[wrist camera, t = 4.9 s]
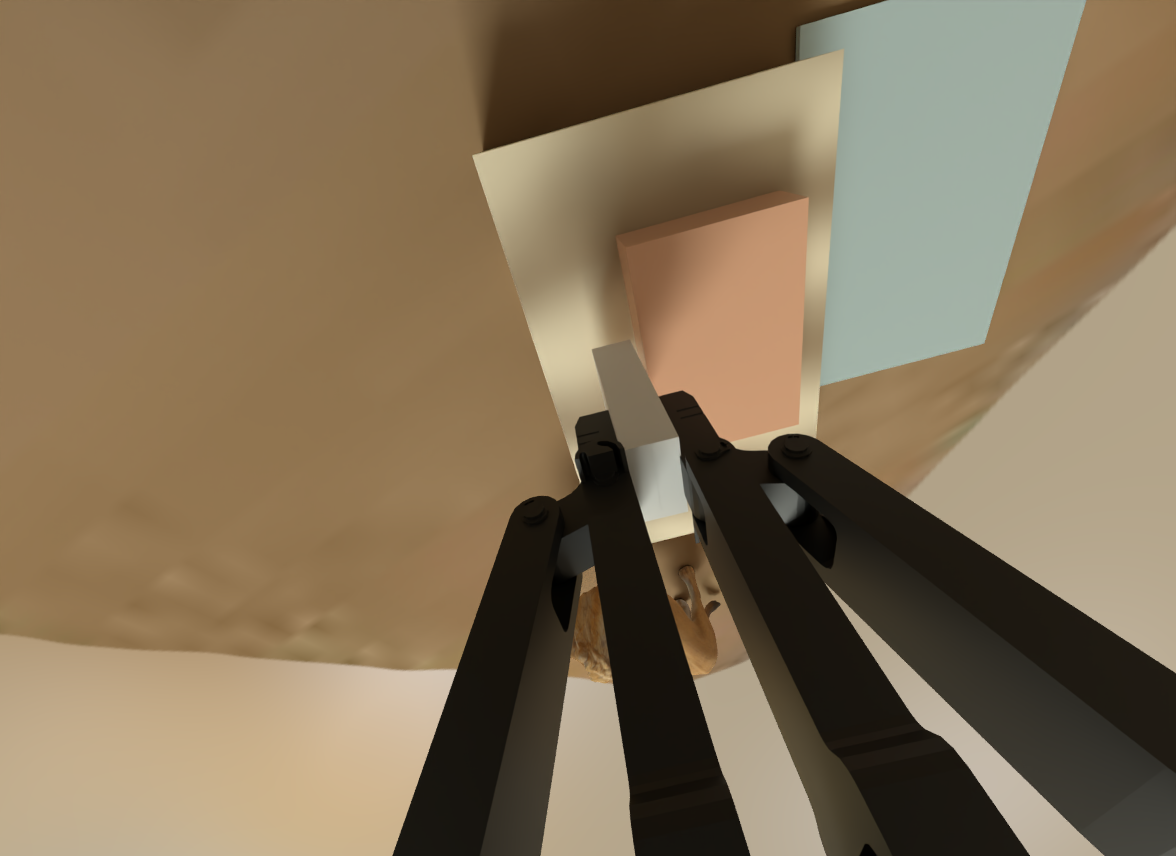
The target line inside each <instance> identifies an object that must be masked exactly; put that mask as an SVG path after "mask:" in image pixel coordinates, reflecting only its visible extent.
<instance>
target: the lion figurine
mask: <svg viewBox="0 0 1176 856" xmlns="http://www.w3.org/2000/svg"><path fill="white" fill-rule="evenodd" d="M679 576H680V578H681V579H682V580H683V581H684V582H685V583H686V585H687V588H688V590H689V595H690V598H691V601H692V607H691V612H690V608H689V606H688V604H687V602H686V601H684V600H682V599H679V600H676V601H675V600H674V599H673V598H672V597H670V596H669V595H668V594H667V596H668V599H669V602H670V606H671V609H672V612H673V615H674V619H675V622H676V625H677V628H678V632H679V635H680V638H681V641H682V645H683V648H684V651H685V654H686V658H687V661H688V664H689V668H690V671H691V674H692V675H698V674H708V673H709V672H710V671H711V670H712V667H713V666H714V665H715V663H716V660H717V644H716V638H715V633H714V630H713V628H712V625H711V623H710V621H709V616H710V614H711V613H712V612H713V611H714V610H716V609H717V608H718V607H719V606H720V603H719V602H716V601H711V602H710V603H708V604H707V605H706V607H705V609H704V607H703V605H702V602H701V600H700V598H701V596H700V592H699V590H698V587H697V584H696V580H695V573H694V569H693V568H692V567H691V566H685V567H684V568H682V569H680V570H679ZM691 614H692V618H691ZM570 658H573V659H575V660H577V661H578V662H580V663H581V664H582V665H584V666H585V670H586V671H588V676H589V677H590V680H592V681H594V682H602V683H608V682H609V681H611V680H612V673H611V667H610V660H609V654H608V648H607V641H606V635H605V629H604V622H603V616H602V610H601V603H600V597H599V591H598V585H597V587H594V588H593V589H591V590H590V591H588V592H586V593H583V594H582V595H581V596H580V597H579V604H578V610H577V617H576V624H575V630H574V637H573V643H572V650H571V657H570Z"/></svg>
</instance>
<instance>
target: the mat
mask: <svg viewBox="0 0 1176 856" xmlns="http://www.w3.org/2000/svg"><path fill="white" fill-rule="evenodd" d="M1085 2H1086V0H887V1H884V2H880V3H877V4H874V5H870V6H867V7H863V8H860V9H856V10H853V11H850V12H846V13H843V14H839V15H836V16H832V17H829V18H825V19H822V20H819V21H815V22H812V23H808V24H805V25H801V26H799V27H796V61H800V60H803V59H807V58H811V57H815V56H818V55H822V54H826V53H829V52H833V51H837V50H841V49H844V59H843V73H842V86H841V100H840V114H839V128H838V142H837V155H836V169H835V183H834V197H833V210H832V224H831V238H830V252H829V265H828V279H827V293H826V307H825V320H824V334H823V348H822V362H821V376H820V386H823V385H826V384H830V383H834V382H838V381H842V380H846V379H849V378H853V377H857V376H861V375H865V374H869V373H872V372H876V371H880V370H884V369H888V368H892V367H896V366H899V365H903V364H907V363H911V362H915V361H919V360H922V359H926V358H930V357H934V356H938V355H942V354H945V353H949V352H953V351H957V350H961V349H965V348H969V347H972V346H976V345H980V344H984V342H985V339H986V335H987V332H988V329H989V325H990V322H991V319H992V315H993V312H994V309H995V305H996V302H997V298H998V295H999V292H1000V288H1001V285H1002V282H1003V278H1004V275H1005V272H1006V268H1007V265H1008V261H1009V258H1010V255H1011V251H1012V248H1013V245H1014V241H1015V238H1016V235H1017V231H1018V228H1019V224H1020V221H1021V218H1022V214H1023V211H1024V208H1025V204H1026V201H1027V198H1028V194H1029V191H1030V187H1031V184H1032V181H1033V177H1034V174H1035V171H1036V167H1037V164H1038V161H1039V157H1040V154H1041V150H1042V147H1043V144H1044V140H1045V137H1046V134H1047V130H1048V127H1049V124H1050V120H1051V117H1052V113H1053V110H1054V107H1055V103H1056V100H1057V97H1058V93H1059V90H1060V87H1061V83H1062V80H1063V76H1064V73H1065V70H1066V66H1067V63H1068V60H1069V56H1070V53H1071V50H1072V46H1073V43H1074V39H1075V36H1076V33H1077V29H1078V26H1079V23H1080V19H1081V16H1082V13H1083V9H1084V6H1085Z"/></svg>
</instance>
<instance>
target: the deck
mask: <svg viewBox="0 0 1176 856" xmlns="http://www.w3.org/2000/svg"><path fill="white" fill-rule="evenodd" d="M843 59H844V49H841V50H837V51H833V52H829V53H826V54H822V55H818V56H815V57H811V58H807V59H803V60H800V61H796V62H792V63H788V64H785V65H781V66H778V67H774V68H771V69H767V70H764V71H760V72H757V73H753V74H750V75H746V76H743V77H739V78H736V79H733V80H729V81H726V82H722V83H719V84H715V85H712V86H708V87H705V88H701V89H698V90H694V91H691V92H687V93H684V94H680V95H677V96H674V97H670V98H667V99H663V100H660V101H656V102H653V103H649V104H646V105H642V106H639V107H635V108H632V109H628V110H625V111H621V112H618V113H614V114H611V115H608V116H604V117H601V118H597V119H594V120H590V121H587V122H583V123H580V124H576V125H573V126H569V127H566V128H562V129H559V130H555V131H552V132H549V133H545V134H542V135H538V136H535V137H531V138H528V139H524V140H521V141H517V142H514V143H510V144H507V145H503V146H500V147H496V148H493V149H489V150H486V151H483V152H480V153H478V154H475V155H473V159H474V162H475V165H476V169H477V172H478V175H479V178H480V181H481V184H482V187H483V190H484V193H485V196H486V199H487V202H488V205H489V208H490V211H491V214H492V217H493V220H494V223H495V226H496V229H497V232H498V235H499V238H500V241H501V244H502V247H503V250H504V254H505V257H506V260H507V263H508V266H509V269H510V272H511V275H512V278H513V281H514V284H515V287H516V290H517V293H518V296H519V299H520V302H521V305H522V308H523V311H524V314H525V317H526V320H527V323H528V326H529V329H530V332H531V335H532V338H533V342H534V345H535V348H536V351H537V354H538V357H539V360H540V363H541V366H542V369H543V372H544V375H545V378H546V381H547V384H548V387H549V390H550V393H551V396H552V399H553V402H554V405H555V408H556V411H557V414H558V417H559V420H560V423H561V426H562V430H563V433H564V436H565V439H566V442H567V445H568V448H569V451H570V454H571V457H572V460H573V463H574V466H575V469H576V472H577V475H578V478H579V481H580V483H581V480H580V477H579V473H578V470H577V467H576V463H575V460H574V459H575V453H576V452H577V451H578V444H577V438H576V432H575V425H576V423H577V421H578V419H579V417H581V416H585V415H589V414H593V413H597V412H601V411H605V410H606V409H605V405H604V401H603V397H602V392H601V388H600V384H599V379H598V375H597V371H596V366H595V362H594V358H593V354H592V349H594V348H598V347H602V346H606V345H610V344H614V343H618V342H622V341H626V340H630V341H631V343H632V345H633V347H634V349H635V351H636V353H637V348H636V343H635V338H634V332H633V327H632V322H631V316H630V311H629V306H628V301H627V295H626V290H625V285H624V279H623V274H622V269H621V263H620V258H619V253H618V247H617V242H616V237H615V236H617V235H620V234H624V233H628V232H631V231H635V230H638V229H642V228H646V227H649V226H653V225H656V224H660V223H664V222H667V221H671V220H674V219H678V218H682V217H685V216H689V215H692V214H696V213H700V212H703V211H707V210H710V209H714V208H718V207H721V206H725V205H729V204H732V203H736V202H739V201H743V200H747V199H750V198H754V197H757V196H761V195H765V194H768V193H772V192H775V191H779V190H780V191H784V192H789V193H793V194H798V195H802V196H806V197H809V207H808V230H807V252H806V275H805V297H804V320H803V343H802V365H801V388H800V410H799V424H798V425H795V426H791V427H787V428H783V429H779V430H775V431H771V432H767V433H764V434H760V435H756V436H752V437H748V438H744V439H740V440H736V441H732V442H730V443H731V444H733V445H734V447H735V448H736V449H740V450H750V451H756V450H768V446H769V444H770V442H771V441H772V440H773V439H775V438H776V437H778V436H782V435H785V434H803V435H808V436H811V437H813V438H815V439H816V431H817V417H818V403H819V389H820V376H821V362H822V348H823V334H824V320H825V307H826V293H827V279H828V265H829V252H830V238H831V224H832V210H833V197H834V183H835V169H836V155H837V142H838V128H839V114H840V100H841V86H842V73H843ZM637 355H638V354H637ZM687 506H688V512H684V513H680V514H676V515H672V516H667V517H663V518H659V519H655V520H651V521H647V522H645V524H646V527H647V531H648V534H649V537H650V540H651V543H655V542H659V541H663V540H667V539H671V538H675V537H679V536H683V535H687V534H690V533H694V526H693V518H692V511H691V509H690V506H689V504H688V502H687Z"/></svg>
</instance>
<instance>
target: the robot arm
mask: <svg viewBox="0 0 1176 856" xmlns="http://www.w3.org/2000/svg"><path fill="white" fill-rule="evenodd" d="M592 354H593V358H594V362H595V366H596V371H597V375H598V379H599V384H600V388H601V392H602V397H603V401H604V405H605V409H606V410H605V411H601V412H597V413H593V414H589V415H585V416H581V417H579V419H578V421H577V423H576V425H575V432H576V438H577V444H578V451H577V452H576V453H575V459H574V460H575V463H576V467H577V470H578V473H579V477H580V480H581V483H580V485H579V486H578V487H577V489H576V490H574V491H573V492H572V493H571V494H569V495H568V496H566V497H565V498H563V499H561V500H559V501H556V500H555V499H553V498H551V497H549V496H537V497H532V498H529V499H527V500H525V501H523V502H522V503H521V504H519V505H518V506H517V507H516V508H515V509H514V511H513V513H512V514H511V516H510V519H509V522H508V525H507V528H506V531H505V534H504V537H503V539H502V542H501V545H500V548H499V551H498V554H497V557H496V560H495V562H494V565H493V568H492V571H491V574H490V577H489V580H488V583H487V585H486V588H485V591H484V594H483V597H482V600H481V603H480V606H479V608H478V611H477V614H476V617H475V620H474V623H473V626H472V629H471V631H470V634H469V637H468V640H467V643H466V646H465V649H464V652H463V654H462V657H461V660H460V663H459V666H458V669H457V672H456V675H455V677H454V681H453V683H452V686H451V689H450V692H449V695H448V698H447V700H446V703H445V706H444V709H443V712H442V715H441V718H440V721H439V723H438V726H437V729H436V732H435V735H434V738H433V741H432V743H431V746H430V749H429V752H428V755H427V758H426V761H425V764H424V766H423V770H422V773H421V775H420V778H419V781H418V784H417V787H416V790H415V792H414V795H413V798H412V801H411V804H410V807H409V810H408V812H407V816H406V818H405V821H404V824H403V827H402V830H401V833H400V836H399V838H398V841H397V844H396V847H395V850H394V853H393V856H540V855H541V848H542V842H543V835H544V828H545V822H546V815H547V808H548V802H549V795H550V788H551V782H552V776H553V769H554V762H555V756H556V749H557V743H558V736H559V728H560V722H561V716H562V710H563V703H564V696H565V690H566V683H567V676H568V670H569V663H570V657H571V650H572V643H573V637H574V630H575V624H576V617H577V610H578V604H579V597H580V591H581V584H582V577H583V576H582V572H584V571H585V570H587V569H589V568H591V567H593V566H594V565H595V572H596V578H597V584H598V591H599V597H600V603H601V610H602V616H603V622H604V629H605V635H606V641H607V648H608V654H609V660H610V667H611V673H612V679H613V686H614V692H615V698H616V704H617V711H618V717H619V723H620V730H621V736H622V743H623V749H624V755H625V761H626V768H627V774H628V781H629V789H630V805H629V807H630V820H631V828H632V835H633V843H634V849H635V856H750V853H749V850H748V846H747V843H746V840H745V837H744V833H743V831H742V827H741V824H740V821H739V817H738V814H737V811H736V809H735V805H734V802H733V799H732V796H731V793H730V790H729V788H728V785H727V782H726V780H725V778H724V776H723V774H722V771H721V768H720V765H719V762H718V759H717V756H716V752H715V750H714V746H713V743H712V739H711V736H710V733H709V730H708V727H707V723H706V720H705V716H704V713H703V710H702V707H701V704H700V700H699V697H698V694H697V690H696V687H695V684H694V681H693V677H692V674H691V671H690V668H689V664H688V661H687V658H686V654H685V651H684V648H683V645H682V641H681V638H680V635H679V632H678V628H677V625H676V622H675V619H674V615H673V612H672V609H671V606H670V602H669V599H668V596H667V593H666V589H665V586H664V583H663V580H662V576H661V573H660V570H659V566H658V563H657V560H656V557H655V553H654V550H653V547H652V544H651V540H650V537H649V534H648V531H647V527H646V524H645V522H647V521H651V520H655V519H659V518H663V517H667V516H672V515H676V514H680V513H684V512H688V506H687V502H688V504H689V506H690V509H691V511H692V518H693V526H694V534H695V541H696V543H700V542H701V544H702V546H703V549H704V551H705V553H706V556H707V558H708V561H709V563H710V565H711V568H712V570H713V572H714V575H715V577H716V580H717V582H718V584H719V587H720V589H721V591H722V594H723V596H724V599H725V601H726V603H727V606H728V608H729V610H730V613H731V615H732V618H733V620H734V622H735V625H736V627H737V629H738V632H739V634H740V637H741V639H742V641H743V644H744V646H745V648H746V651H747V653H748V656H749V658H750V660H751V663H752V665H753V667H754V669H755V672H756V674H757V677H758V679H759V681H760V684H761V686H762V689H763V691H764V693H765V696H766V698H767V701H768V703H769V705H770V708H771V710H772V712H773V715H774V717H775V719H776V722H777V724H778V727H779V729H780V731H781V734H782V736H783V739H784V741H785V743H786V746H787V748H788V750H789V752H790V755H791V757H792V760H793V762H794V765H795V767H796V769H797V772H798V774H799V776H800V779H801V781H802V784H803V786H804V788H805V791H806V793H807V795H808V798H809V801H810V803H811V806H812V809H813V812H814V815H815V818H816V822H817V826H818V830H819V834H820V838H821V841H822V844H823V847H824V850H825V853H826V855H827V856H1030V855H1029V854H1028V852H1027V851H1026V849H1025V848H1024V846H1023V845H1022V843H1021V842H1020V841H1019V839H1018V838H1017V837H1016V835H1015V833H1014V832H1013V831H1012V829H1011V828H1010V826H1009V825H1008V824H1007V822H1006V820H1005V819H1004V818H1003V816H1002V815H1001V813H1000V812H999V811H998V809H997V808H996V806H995V805H994V803H993V802H992V800H991V799H990V798H989V796H988V795H987V793H986V792H985V790H984V789H983V787H982V786H981V785H980V783H979V782H978V780H977V779H976V777H975V776H974V774H973V773H972V772H971V770H970V769H969V767H968V766H967V765H966V764H965V762H964V761H963V760H962V758H961V757H960V756H959V755H958V753H957V752H956V751H955V750H954V748H953V747H951V746H950V745H949V744H948V743H947V742H946V741H945V740H944V739H943V738H942V737H941V736H939V735H936V734H934V733H932V732H930V731H928V730H925V729H924V728H923V727H922V726H921V725H920V724H919V723H918V722H917V721H916V720H915V718H914V717H913V716H912V714H911V713H910V712H909V710H908V709H907V707H906V706H905V704H904V702H903V701H902V699H901V698H900V697H899V695H898V693H897V692H896V690H895V689H894V687H893V686H892V684H891V683H890V681H889V680H888V678H887V677H886V675H885V674H884V672H883V671H882V669H881V668H880V666H879V665H878V663H877V662H876V660H875V659H874V657H873V656H872V654H871V653H870V651H869V649H868V648H867V646H866V645H865V643H864V642H863V640H862V639H861V638H860V636H859V634H858V633H857V632H856V630H855V628H854V627H853V625H852V624H851V622H850V621H849V619H848V618H847V616H846V615H845V613H844V612H843V610H842V609H841V607H840V606H839V604H838V603H837V601H836V600H835V598H834V597H833V595H832V593H831V592H830V591H829V589H828V587H827V586H826V584H827V585H828V586H829V587H830V588H831V589H832V590H833V591H834V592H835V593H836V594H837V595H838V596H839V597H840V598H841V599H842V600H843V601H844V602H845V603H846V604H847V605H848V606H849V607H850V608H851V609H853V611H854V612H855V613H856V614H858V615H859V617H860V618H861V619H863V621H865V622H866V623H867V624H868V625H869V626H870V627H871V628H872V629H873V630H874V631H875V632H876V633H877V634H878V635H879V636H880V637H881V638H882V639H883V640H884V641H885V642H886V643H887V644H888V645H889V646H890V647H891V648H892V649H893V650H894V651H895V652H896V653H897V654H898V655H899V656H900V657H901V658H902V659H903V660H904V661H905V662H906V663H907V664H908V665H909V666H910V667H911V668H912V669H914V670H915V672H917V674H918V675H920V676H921V677H922V678H923V679H924V680H925V681H926V682H927V683H928V684H929V685H930V686H931V687H932V688H933V689H934V690H935V691H936V692H937V693H938V694H939V695H940V696H941V697H942V698H943V699H944V700H945V701H946V702H947V703H948V704H949V705H950V706H951V707H952V708H953V709H954V710H955V711H956V712H957V713H958V714H959V715H960V716H961V717H962V718H963V719H964V720H965V721H966V722H967V723H968V724H970V726H971V727H973V728H974V729H975V730H976V731H977V732H978V733H979V734H980V735H981V736H982V737H983V738H984V739H985V740H986V741H987V742H988V743H989V744H990V745H991V746H992V747H993V748H994V749H995V750H996V751H997V752H998V753H999V754H1000V755H1001V756H1002V757H1003V758H1004V759H1005V760H1006V761H1007V762H1008V763H1009V764H1010V765H1011V766H1012V767H1013V768H1014V769H1015V770H1016V771H1017V772H1018V773H1019V774H1020V775H1022V777H1023V778H1024V779H1026V780H1027V781H1028V782H1029V783H1030V784H1031V785H1032V786H1033V787H1034V788H1035V789H1036V790H1037V791H1038V792H1039V793H1040V794H1041V795H1042V796H1043V797H1044V798H1045V799H1046V800H1047V801H1048V802H1049V803H1050V804H1051V805H1052V806H1053V807H1054V808H1055V809H1056V810H1057V811H1058V812H1059V813H1060V814H1061V815H1062V816H1063V817H1064V818H1065V819H1066V820H1067V821H1068V822H1069V823H1070V824H1071V825H1072V826H1073V827H1074V828H1076V830H1077V831H1079V833H1081V834H1082V835H1083V836H1084V837H1085V838H1086V839H1087V840H1088V841H1089V842H1090V843H1091V844H1092V845H1094V846H1095V847H1096V848H1097V849H1098V850H1099V851H1100V852H1101V853H1102V854H1103V855H1104V856H1176V673H1175V672H1173V671H1171V670H1170V669H1168V668H1167V667H1165V666H1164V665H1162V664H1161V663H1159V662H1158V661H1156V660H1155V659H1153V658H1152V657H1150V656H1148V655H1147V654H1145V653H1144V652H1142V651H1141V650H1139V649H1138V648H1136V647H1135V646H1133V645H1132V644H1130V643H1129V642H1127V641H1125V640H1124V639H1123V638H1121V637H1119V636H1118V635H1116V634H1115V633H1113V632H1112V631H1110V630H1109V629H1107V628H1106V627H1104V626H1103V625H1101V624H1100V623H1098V622H1096V621H1094V620H1093V619H1092V618H1090V617H1089V616H1087V615H1086V614H1084V613H1083V612H1081V611H1080V610H1078V609H1077V608H1075V607H1073V606H1072V605H1070V604H1069V603H1067V602H1066V601H1064V600H1063V599H1061V598H1060V597H1058V596H1057V595H1055V594H1053V593H1052V592H1050V591H1049V590H1047V589H1046V588H1044V587H1043V586H1041V585H1040V584H1038V583H1037V582H1035V581H1034V580H1032V579H1031V578H1029V577H1027V576H1026V575H1024V574H1023V573H1021V572H1020V571H1018V570H1017V569H1015V568H1014V567H1012V566H1011V565H1009V564H1007V563H1006V562H1005V561H1003V560H1001V559H1000V558H998V557H997V556H995V555H994V554H992V553H991V552H989V551H988V550H986V549H985V548H983V547H981V546H980V545H978V544H977V543H975V542H974V541H972V540H971V539H969V538H968V537H966V536H964V535H963V534H962V533H960V532H959V531H957V530H955V529H954V528H952V527H951V526H949V525H948V524H946V523H945V522H943V521H942V520H940V519H939V518H937V517H935V516H934V515H932V514H931V513H929V512H928V511H926V510H925V509H923V508H922V507H920V506H919V505H917V504H916V503H914V502H913V501H911V500H909V499H908V498H906V497H905V496H903V495H902V494H900V493H899V492H897V491H896V490H894V489H893V488H891V487H890V486H888V485H886V484H885V483H883V482H882V481H880V480H879V479H877V478H876V477H874V476H873V475H871V474H870V473H868V472H867V471H865V470H863V469H862V468H860V467H859V466H857V465H856V464H854V463H853V462H851V461H850V460H848V459H847V458H845V457H844V456H842V455H841V454H839V453H837V452H836V451H834V450H833V449H831V448H830V447H828V446H827V445H825V444H824V443H822V442H821V441H819V440H817V439H815V438H813V437H811V436H808V435H803V434H785V435H782V436H778V437H776V438H775V439H773V440H772V441H771V442H770V444H769V446H768V450H756V451H750V450H740V449H736V448H735V447H734V445H733V444H731V443H730V442H729V441H728V440H725V439H723V438H720V437H719V436H718V434H717V433H716V431H715V429H714V428H713V426H712V425H711V423H710V422H709V420H708V418H707V417H706V415H705V414H704V413H703V411H702V409H701V407H699V404H698V403H697V401H696V400H695V398H694V396H692V395H690V394H688V393H686V392H685V391H683V390H682V391H678V392H673V393H669V394H665V395H661V396H658V394H657V392H656V390H655V388H654V386H653V384H652V383H651V381H650V379H649V377H648V375H647V373H646V371H645V369H644V367H643V365H642V363H641V361H640V359H639V357H638V355H637V353H636V351H635V349H634V347H633V345H632V343H631V341H630V340H626V341H622V342H618V343H614V344H610V345H606V346H602V347H598V348H594V349H592ZM699 539H700V542H699ZM824 582H825V583H826V584H825V583H824Z"/></svg>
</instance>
